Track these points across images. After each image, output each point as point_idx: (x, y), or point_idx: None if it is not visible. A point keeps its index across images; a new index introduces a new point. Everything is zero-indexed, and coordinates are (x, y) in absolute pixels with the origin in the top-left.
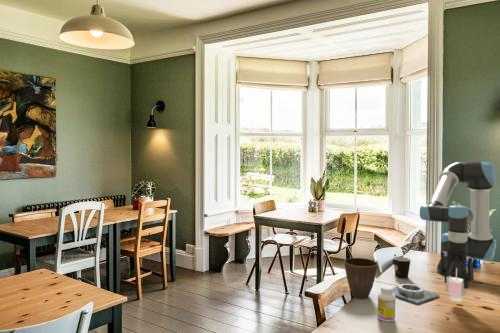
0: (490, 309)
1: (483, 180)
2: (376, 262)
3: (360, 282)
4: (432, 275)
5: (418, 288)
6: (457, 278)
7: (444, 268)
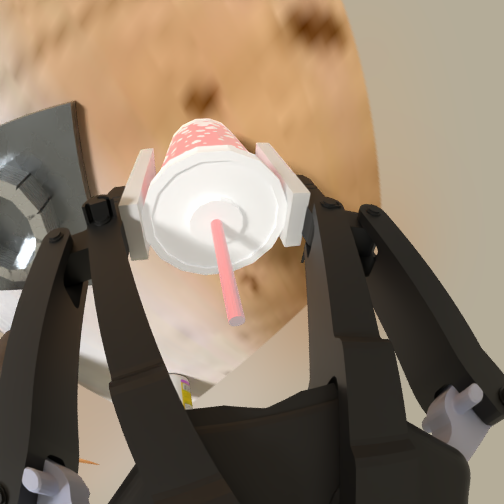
0: (335, 40)
1: None
2: None
3: None
4: None
5: (2, 191)
6: (215, 202)
7: (53, 274)
